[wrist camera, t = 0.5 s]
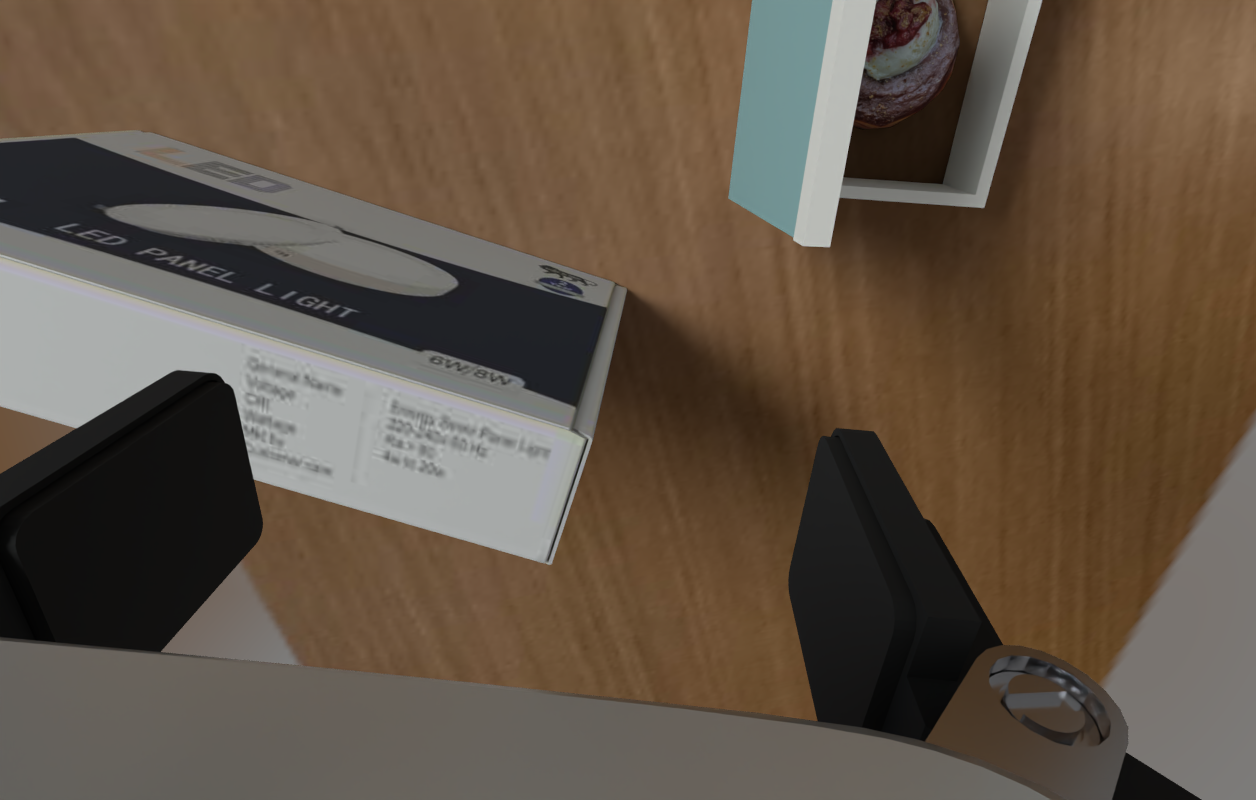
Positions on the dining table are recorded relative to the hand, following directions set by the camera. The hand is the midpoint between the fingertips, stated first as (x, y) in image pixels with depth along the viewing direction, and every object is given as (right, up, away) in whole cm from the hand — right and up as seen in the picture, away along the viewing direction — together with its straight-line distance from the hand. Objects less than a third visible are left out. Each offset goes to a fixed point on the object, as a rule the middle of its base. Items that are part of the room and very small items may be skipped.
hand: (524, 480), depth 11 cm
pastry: (+15, +20, +25) cm, 35 cm away
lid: (+9, +16, +15) cm, 23 cm away
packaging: (-14, +10, +31) cm, 35 cm away
